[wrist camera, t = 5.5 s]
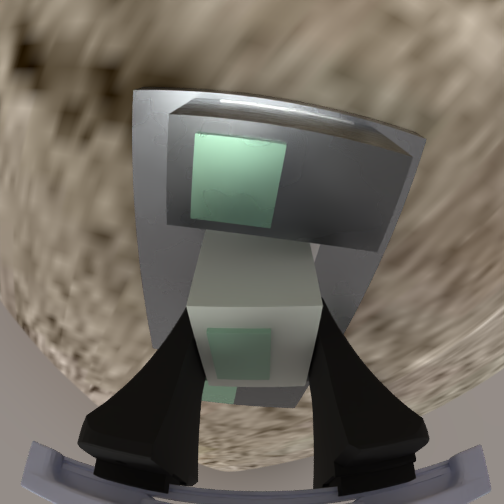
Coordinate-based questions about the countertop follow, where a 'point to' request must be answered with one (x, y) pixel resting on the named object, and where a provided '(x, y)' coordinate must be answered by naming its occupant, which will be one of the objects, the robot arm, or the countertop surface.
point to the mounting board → (262, 196)
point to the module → (254, 310)
